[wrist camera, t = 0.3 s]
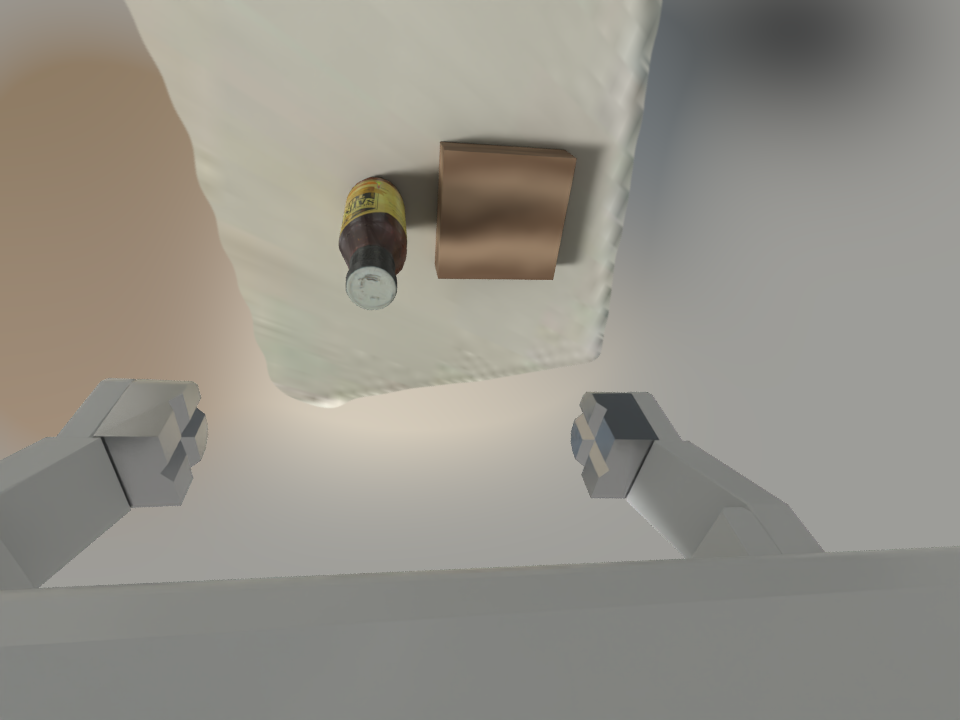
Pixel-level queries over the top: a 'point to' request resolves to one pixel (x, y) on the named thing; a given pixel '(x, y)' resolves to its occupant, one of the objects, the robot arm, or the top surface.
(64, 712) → the robot arm
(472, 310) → the top surface
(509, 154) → the block
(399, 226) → the sauce bottle
